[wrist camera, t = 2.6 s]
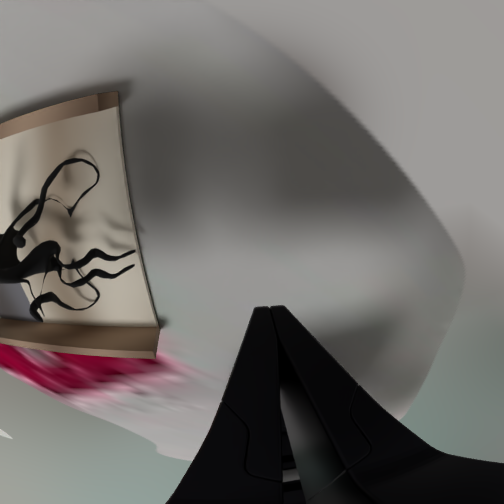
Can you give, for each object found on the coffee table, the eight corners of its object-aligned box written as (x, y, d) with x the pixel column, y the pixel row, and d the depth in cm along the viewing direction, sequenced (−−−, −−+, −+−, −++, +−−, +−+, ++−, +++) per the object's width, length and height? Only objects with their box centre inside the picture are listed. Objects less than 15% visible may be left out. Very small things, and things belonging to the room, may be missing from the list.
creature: (145, 155, 11) (-16, 150, 8) (141, 212, 7) (-84, 205, 4) (133, 297, 15) (5, 289, 12) (137, 382, 11) (-21, 366, 8)
